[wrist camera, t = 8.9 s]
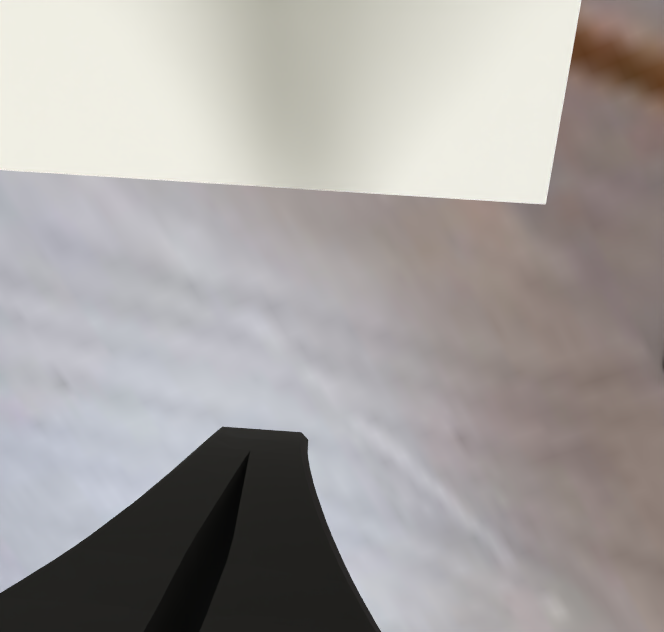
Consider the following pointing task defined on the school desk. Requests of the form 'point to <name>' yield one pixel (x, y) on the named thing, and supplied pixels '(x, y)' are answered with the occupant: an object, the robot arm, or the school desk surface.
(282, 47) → the camera housing
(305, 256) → the school desk surface
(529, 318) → the school desk surface
